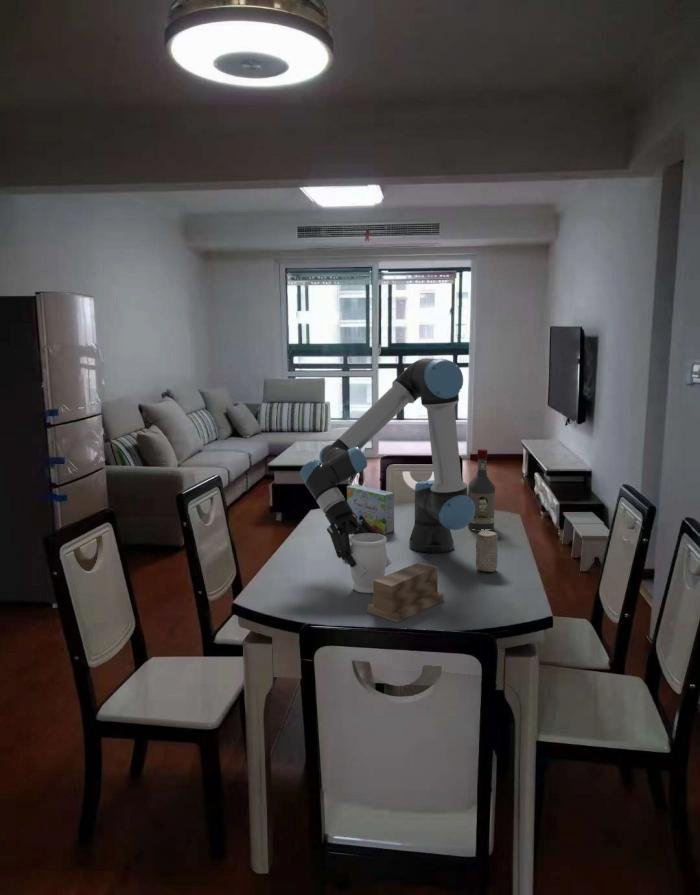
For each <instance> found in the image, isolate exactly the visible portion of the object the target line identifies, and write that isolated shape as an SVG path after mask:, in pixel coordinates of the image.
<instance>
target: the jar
mask: <svg viewBox="0 0 700 895" xmlns="http://www.w3.org/2000/svg"><path fill="white" fill-rule="evenodd" d="M387 541H388V538H387V536H386V535H385V534H382V533H378V534H375V533H362V534H356V535H354V534H352V536H351V537H350V543H351V547H350V549H351V554H352V553H354V554H355V555H356V557H357V559H358V560H359V562H360V563H361V565H362V566H363V568H364V570H365V571H366V573H365V574H364V575H363V576H362V577H361V578H359V577H358V575H357V574H356V572H355V571H354V569H353V567H351V566H350V565H349V568H350V573H351V577H352V580H353V582H354V584H353V586H352V588H353V590H354V591H356V592H358V593H361V594H373V581H374V580H376V579H379V578H381V577H384V576H386V575H385V573H386V563H387V556H388V554H387V547H386V543H387Z"/></svg>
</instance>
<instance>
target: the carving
mask: <svg viewBox="0 0 700 895" xmlns="http://www.w3.org/2000/svg"><path fill="white" fill-rule="evenodd" d="M498 538H499V537H498V533H496V532H494V531H493V530H491V531H478V532H477V535H476V543H475V554H476V555H475V567H476V569H477V570H478V571H481V572H486V573H487V572H489V573H493V572H496V570H497V566H498V542H499V539H498Z"/></svg>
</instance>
